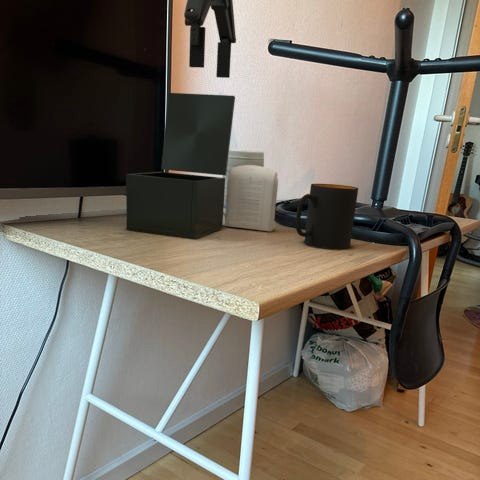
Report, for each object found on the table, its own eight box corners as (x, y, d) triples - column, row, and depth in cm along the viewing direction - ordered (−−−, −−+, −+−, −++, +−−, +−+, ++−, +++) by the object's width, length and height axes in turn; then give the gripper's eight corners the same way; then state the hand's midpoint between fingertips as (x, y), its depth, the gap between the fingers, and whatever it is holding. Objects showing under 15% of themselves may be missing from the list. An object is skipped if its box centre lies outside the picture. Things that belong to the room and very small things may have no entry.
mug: (279, 242, 88) (284, 182, 84) (328, 239, 94) (335, 183, 91) (308, 251, 81) (316, 188, 78) (359, 247, 88) (368, 188, 84)
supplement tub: (246, 211, 124) (250, 150, 119) (267, 217, 117) (273, 152, 112) (213, 211, 119) (216, 148, 114) (233, 218, 112) (237, 150, 107)
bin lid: (234, 95, 90) (235, 96, 91) (168, 92, 94) (170, 93, 95) (224, 175, 93) (226, 175, 94) (161, 169, 97) (163, 169, 98)
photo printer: (275, 229, 100) (281, 167, 96) (271, 232, 96) (277, 167, 92) (227, 224, 103) (231, 163, 98) (221, 227, 99) (225, 163, 94)
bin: (194, 239, 85) (197, 181, 81) (126, 229, 89) (125, 174, 85) (222, 228, 97) (225, 177, 94) (161, 220, 101) (162, 171, 97)
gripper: (208, -87, 77) (203, 62, 85) (255, -33, 100) (248, 81, 107) (165, -84, 80) (164, 61, 87) (221, -32, 102) (216, 80, 109)
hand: (210, 72), depth 97 cm, fingers open, 13 cm apart
